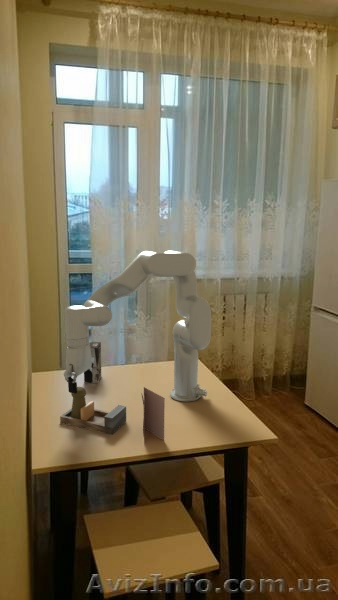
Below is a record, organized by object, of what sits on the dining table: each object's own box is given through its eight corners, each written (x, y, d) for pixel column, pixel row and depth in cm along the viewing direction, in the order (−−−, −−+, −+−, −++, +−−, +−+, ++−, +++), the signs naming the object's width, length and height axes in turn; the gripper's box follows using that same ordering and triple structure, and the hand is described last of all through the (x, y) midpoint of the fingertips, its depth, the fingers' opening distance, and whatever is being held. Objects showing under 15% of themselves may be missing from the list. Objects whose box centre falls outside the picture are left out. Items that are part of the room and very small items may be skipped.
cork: (80, 422, 152) (79, 392, 150) (67, 418, 155) (66, 389, 153) (91, 415, 157) (90, 387, 155) (79, 411, 160) (78, 383, 158)
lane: (126, 421, 155) (126, 406, 154) (112, 434, 146) (112, 418, 144) (76, 411, 162) (76, 396, 161) (60, 423, 153) (59, 407, 152)
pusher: (94, 414, 158) (94, 401, 157) (83, 422, 151) (82, 409, 150) (92, 413, 158) (91, 400, 157) (80, 422, 152) (80, 408, 151)
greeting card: (141, 427, 151) (141, 386, 148) (162, 427, 151) (162, 386, 148) (141, 444, 140) (141, 401, 137) (164, 444, 140) (165, 400, 137)
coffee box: (98, 383, 189) (97, 347, 186) (83, 383, 190) (82, 347, 186) (101, 375, 198) (101, 341, 195) (87, 375, 198) (87, 341, 195)
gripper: (82, 333, 160) (85, 377, 163) (53, 347, 144) (57, 395, 148) (100, 335, 157) (102, 379, 160) (72, 350, 141) (76, 398, 145)
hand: (81, 387), depth 154 cm, fingers open, 9 cm apart
